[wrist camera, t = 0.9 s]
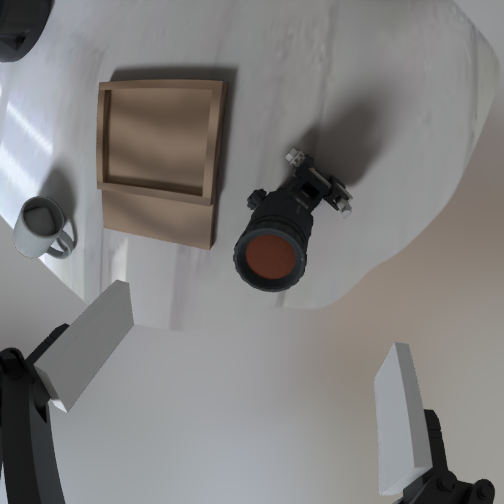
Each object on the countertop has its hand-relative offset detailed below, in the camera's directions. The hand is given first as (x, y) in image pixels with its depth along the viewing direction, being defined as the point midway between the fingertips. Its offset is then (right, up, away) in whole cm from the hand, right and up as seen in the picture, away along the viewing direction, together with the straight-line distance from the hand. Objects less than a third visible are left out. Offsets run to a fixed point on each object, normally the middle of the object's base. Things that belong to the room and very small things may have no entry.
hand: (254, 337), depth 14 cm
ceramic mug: (-32, +8, +30) cm, 45 cm away
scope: (+5, +10, +20) cm, 23 cm away
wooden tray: (-12, +15, +21) cm, 29 cm away
